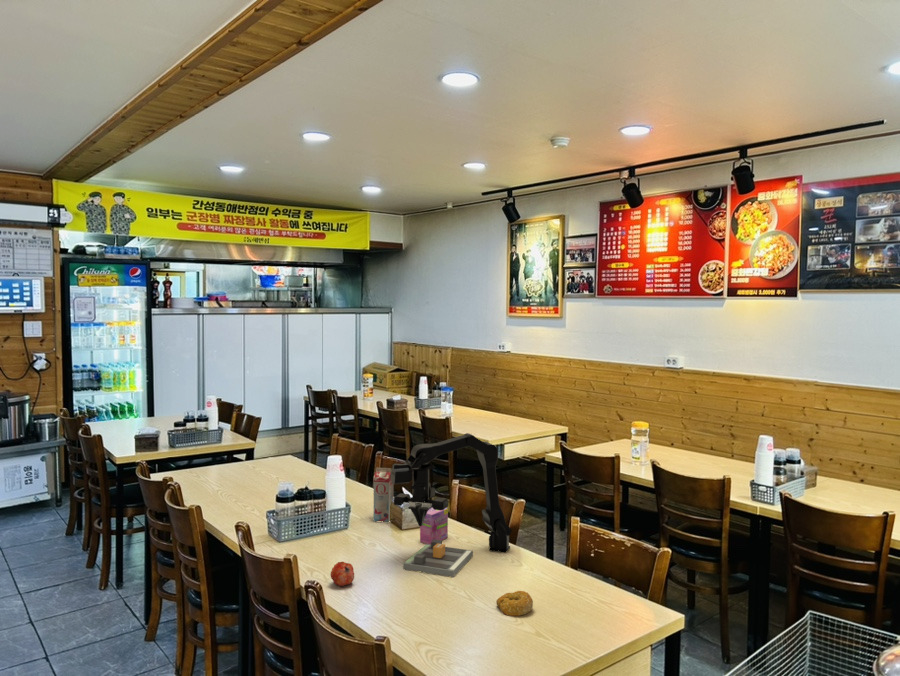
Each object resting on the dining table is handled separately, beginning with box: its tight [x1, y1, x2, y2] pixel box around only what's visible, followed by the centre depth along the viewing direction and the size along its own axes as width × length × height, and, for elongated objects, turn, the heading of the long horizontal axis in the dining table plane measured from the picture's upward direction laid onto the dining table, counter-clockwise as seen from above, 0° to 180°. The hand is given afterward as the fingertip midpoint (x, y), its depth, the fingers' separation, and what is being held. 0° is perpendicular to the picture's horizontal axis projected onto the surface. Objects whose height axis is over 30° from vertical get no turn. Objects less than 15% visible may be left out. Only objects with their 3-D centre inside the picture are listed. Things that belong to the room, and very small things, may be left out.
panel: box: [402, 539, 474, 578], centre depth 221 cm, size 18×20×4 cm
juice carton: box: [373, 467, 395, 523], centre depth 267 cm, size 7×7×22 cm
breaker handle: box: [433, 543, 446, 558], centre depth 221 cm, size 3×4×4 cm
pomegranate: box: [330, 561, 355, 587], centre depth 203 cm, size 7×7×10 cm
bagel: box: [495, 590, 534, 617], centre depth 186 cm, size 10×11×5 cm
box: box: [419, 507, 449, 545], centre depth 243 cm, size 10×6×12 cm, turn 143°
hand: (420, 525), depth 223 cm, fingers closed
